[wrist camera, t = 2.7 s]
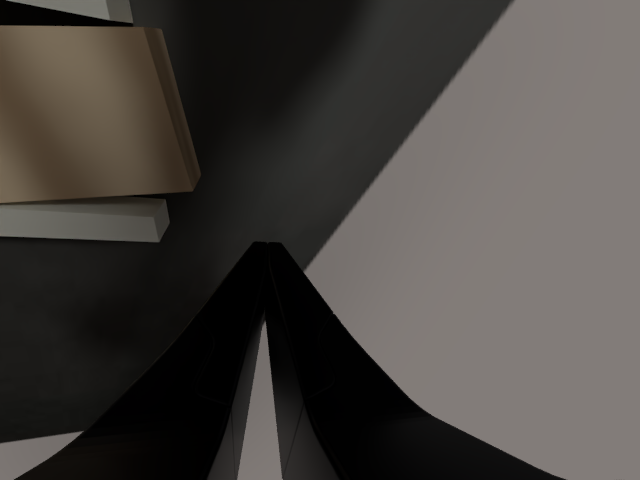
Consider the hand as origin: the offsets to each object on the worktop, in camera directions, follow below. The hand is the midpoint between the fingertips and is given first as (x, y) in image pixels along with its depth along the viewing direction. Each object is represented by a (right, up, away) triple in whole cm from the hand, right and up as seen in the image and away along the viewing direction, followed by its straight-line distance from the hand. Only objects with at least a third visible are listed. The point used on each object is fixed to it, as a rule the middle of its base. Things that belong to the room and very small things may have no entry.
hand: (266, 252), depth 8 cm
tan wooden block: (-13, +8, +7) cm, 17 cm away
